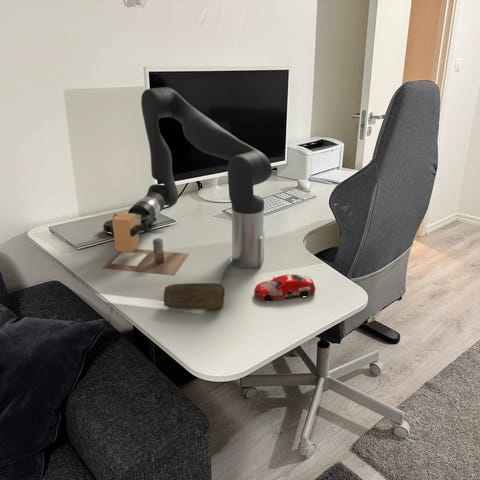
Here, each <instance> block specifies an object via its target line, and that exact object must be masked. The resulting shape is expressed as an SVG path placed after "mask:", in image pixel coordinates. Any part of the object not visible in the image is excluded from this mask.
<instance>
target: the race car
mask: <svg viewBox="0 0 480 480" xmlns="http://www.w3.org/2000/svg"><path fill="white" fill-rule="evenodd" d="M315 292H316V286H315V283H314V281H313V279H312V278H311V277H310V276H306V275H302V274H283V275H279V276H276V277H275V276H273V278H272V279H270V280H265V281H261V282H259V283H258V284H256V286H255V288H254V291H253V293H254V296H255V298H257V300H260V301H264V302H266V301H271V302H273V301H281V300H287V299H288V300H289V299H297V298H298V297H299V298H300V297H303V296H307V297H309V296H312V295H314V294H315ZM266 303H267V302H266Z"/></svg>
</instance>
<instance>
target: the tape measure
mask: <svg viewBox="0 0 480 480" xmlns="http://www.w3.org/2000/svg"><path fill="white" fill-rule="evenodd" d="M110 228H111V220H107V221H105V222H103V231H104V232H105V231H106V232H111V229H110Z"/></svg>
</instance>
